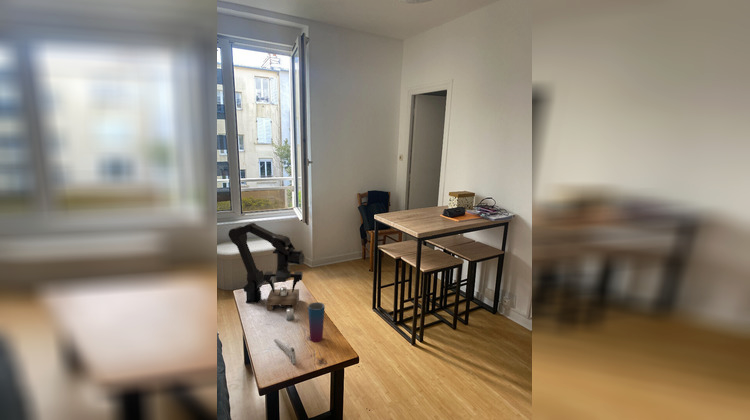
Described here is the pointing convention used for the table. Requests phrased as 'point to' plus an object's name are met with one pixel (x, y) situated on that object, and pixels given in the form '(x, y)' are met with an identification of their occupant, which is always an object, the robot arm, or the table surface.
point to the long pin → (283, 293)
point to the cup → (316, 321)
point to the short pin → (290, 314)
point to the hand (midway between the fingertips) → (283, 292)
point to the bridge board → (283, 299)
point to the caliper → (287, 351)
